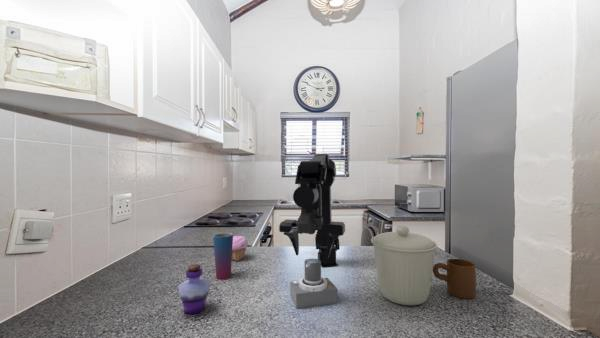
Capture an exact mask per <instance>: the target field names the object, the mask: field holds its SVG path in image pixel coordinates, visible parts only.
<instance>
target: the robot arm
mask: <svg viewBox="0 0 600 338" xmlns="http://www.w3.org/2000/svg"><path fill="white" fill-rule="evenodd" d="M336 177H337V168H336V163H335V162H334V161H333V160H332V159H331V158H330V156H329V154H327V153H317V154H315V155H314V156H313V157H312V158H311V159H310V160H301V161H300V162H299V164H298V165H297V170H296V176H295V180H294V184H295V185H299V187H297V188H295V190H294V191H293V194H292V199H293V202H294V203H295V205H296V206H297V207H299V208H300V209H301V210H300V215H299V216H298V218H297V219H285V220H283V221H281V222H280V223H279V225H278V228H279V229H278V230H279V233H283V235H284V236H287V237H288V238H289V239H290V242H291V245H292V248H293V250H294V252H295V256H299V252H300V251H299V250H300V243H299V240H300V239H299V234H300V235H302V234H307V235H314V234H315V238H314V239H315V249H316V250H318V251H317V259H318V260H320V261H321V268H326V267H328V268H330V267H338V266H339V264H338V263H337V251H338V250H340V248H341V247H340V236H344V234H345V233H346V224H345V222H343V221H332V185H333V184H334V182H335V178H336Z"/></svg>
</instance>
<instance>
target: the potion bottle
mask: <svg viewBox="0 0 600 338" xmlns="http://www.w3.org/2000/svg"><path fill="white" fill-rule="evenodd" d="M202 276H203V268H202V267H201V264H199V263H196V264H195V263H194V264H190V265H188V266H187V270H186V271H185V278H187V279H186V280H184V281H182V282H180V283H179V284H177V287H178V288H177V289H178V293H179V296H180V300H181V301H182V306H183V312H184V314H185V315H189V316H192V315H197V314H201V313H202V312H203V311H204V310H205V309H206V307H205V306H206V302H207V296H209V292H210V287H211V281H210V279H208V278H201V277H202Z"/></svg>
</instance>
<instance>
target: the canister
mask: <svg viewBox="0 0 600 338" xmlns="http://www.w3.org/2000/svg"><path fill="white" fill-rule="evenodd" d="M395 229H396V230H395V231H389V232H388V231H386V232H382V233H378V234H376V235H375V236H372V237H371V239H370V241H371V244H372V245H373V252H374V261H375V270H376V276H377V281H378V282H377V283H378V289H379V291H380V293H381V295H382V296H383V297H384V298H385V299H386V300H388V301H390V302H392V303H394V304H398V305H402V306H412V307H413V306H417V305H421V304H423V303H425V302H426V301H427V300H428V297H429V295H430V291H431V282H432V276H433V266H434V257H435V250H436V249H437V248H438V244H437V243H436V242H435V241H434V240H431V238H429V237H427V236H425V235H423V234H422V235H421V234H418V233H413V232H410V229H409V228H408V227H407V226H406V225H398V226H397V227H396V228H395Z"/></svg>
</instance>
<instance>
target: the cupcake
mask: <svg viewBox="0 0 600 338" xmlns="http://www.w3.org/2000/svg"><path fill="white" fill-rule="evenodd" d="M247 248H248V241H247V239H246V237H245V236H243V235H233V245H232V261H235V262H239V261H241V260H242V259H243V258H244V257H245V255H246V251H247Z"/></svg>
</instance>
